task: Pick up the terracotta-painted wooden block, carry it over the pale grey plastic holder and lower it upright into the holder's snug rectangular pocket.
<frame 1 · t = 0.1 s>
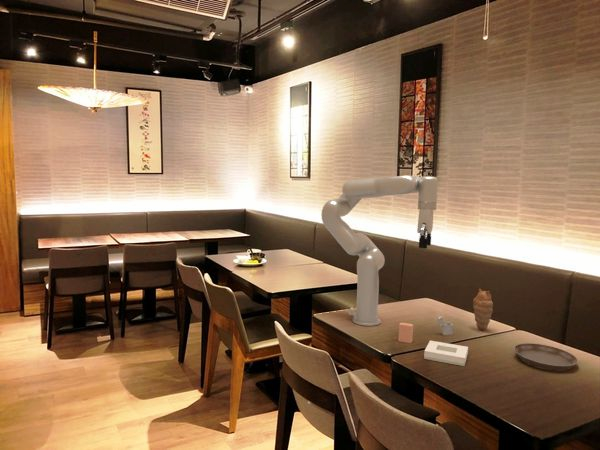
hand: (424, 246, 197), 37 cm above the table, tool pointing down, fingers open, 9 cm apart
lighter: (444, 334, 197), on the table
holder: (446, 356, 173), on the table
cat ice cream: (481, 330, 204), on the table
plant saucer: (544, 362, 171), on the table
block: (405, 341, 188), on the table
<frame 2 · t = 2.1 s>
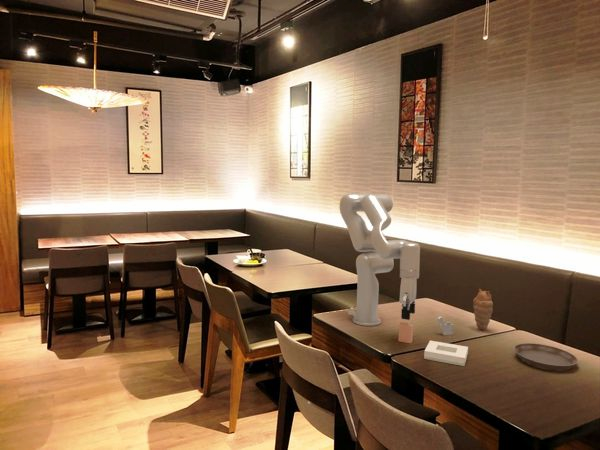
hand: (408, 316, 186), 11 cm above the table, tool pointing down, fingers open, 9 cm apart
nothing on the table moved.
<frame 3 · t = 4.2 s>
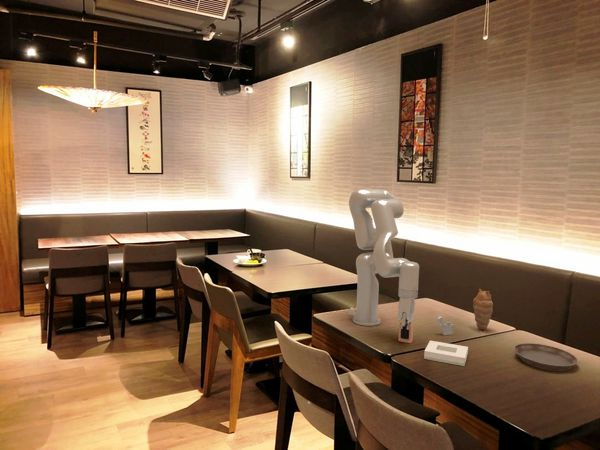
hand: (405, 337, 188), 2 cm above the table, tool pointing down, fingers closed on block, 2 cm apart
block: (405, 340, 188), on the table, touching gripper
everything else where it was.
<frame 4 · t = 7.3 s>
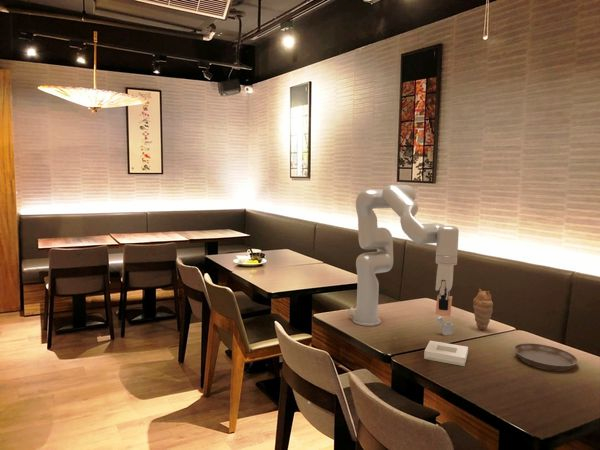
hand: (443, 308, 173), 18 cm above the table, tool pointing down, fingers closed on block, 2 cm apart
block: (442, 314, 173), point 15 cm above the table, touching gripper
everything else where it was.
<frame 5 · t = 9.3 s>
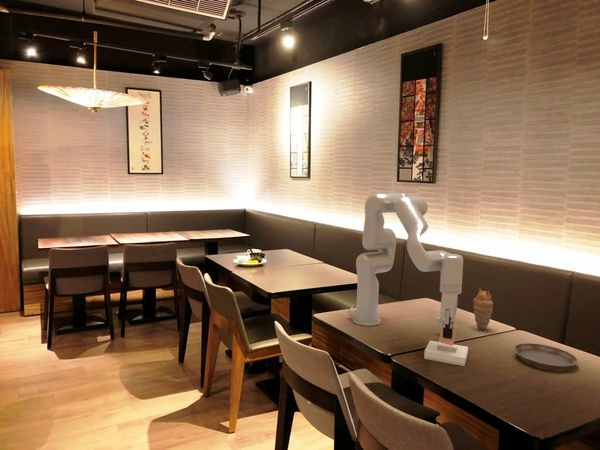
hand: (447, 336, 172), 8 cm above the table, tool pointing down, fingers closed on block, 2 cm apart
block: (446, 342, 172), point 5 cm above the table, tilted 7°, touching gripper
everything else where it was.
when the fingers open (4 cm above the table, at t = 10.8 s): block stays where it is, resting on holder.
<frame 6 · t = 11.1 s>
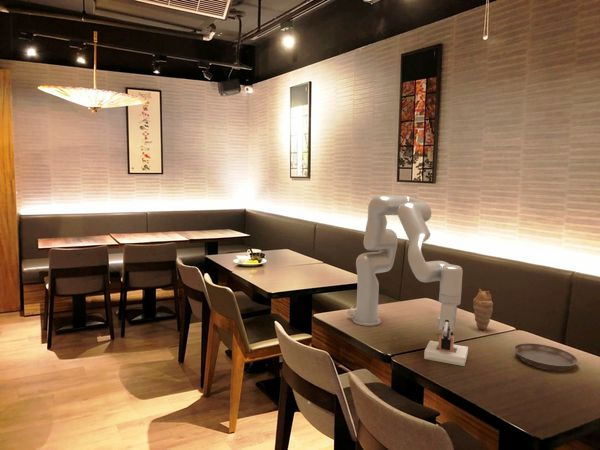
hand: (446, 345, 172), 4 cm above the table, tool pointing down, fingers open, 6 cm apart
block: (445, 353, 173), point 1 cm above the table, touching holder
everything else where it was.
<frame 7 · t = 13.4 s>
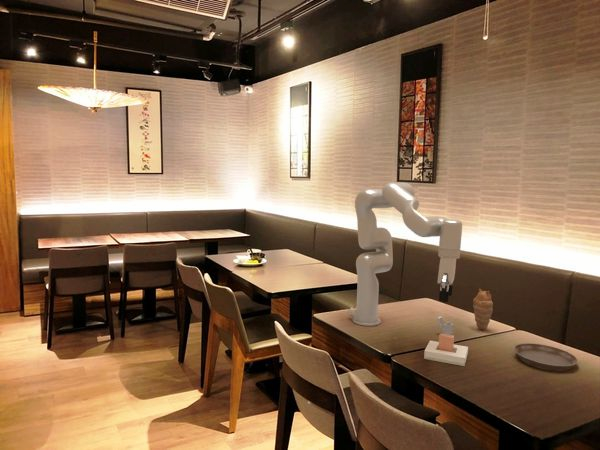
hand: (445, 298, 174), 21 cm above the table, tool pointing down, fingers open, 9 cm apart
nothing on the table moved.
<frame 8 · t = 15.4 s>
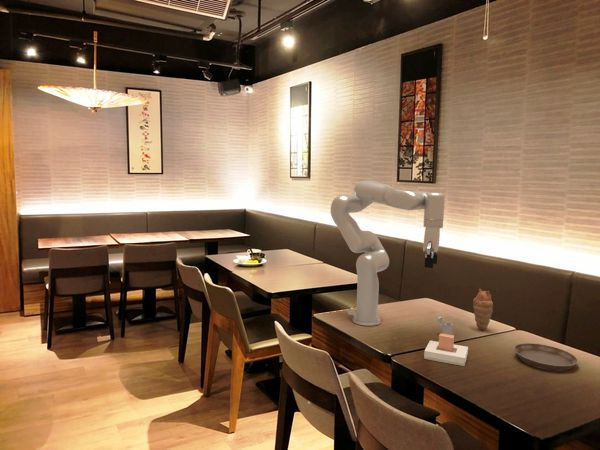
hand: (430, 265, 189), 30 cm above the table, tool pointing down, fingers open, 9 cm apart
nothing on the table moved.
at the end: block 0.3 cm off-centre on the holder, point 1.0 cm above the holder's base; block tilted 0°; the gripper is holding nothing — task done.
